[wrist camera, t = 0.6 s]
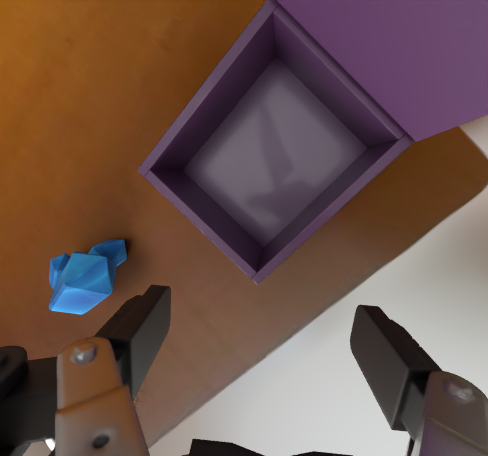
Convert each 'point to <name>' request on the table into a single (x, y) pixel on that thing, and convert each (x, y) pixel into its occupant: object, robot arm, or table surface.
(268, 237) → the box
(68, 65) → the table surface
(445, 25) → the lid
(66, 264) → the gemstones
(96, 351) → the robot arm
